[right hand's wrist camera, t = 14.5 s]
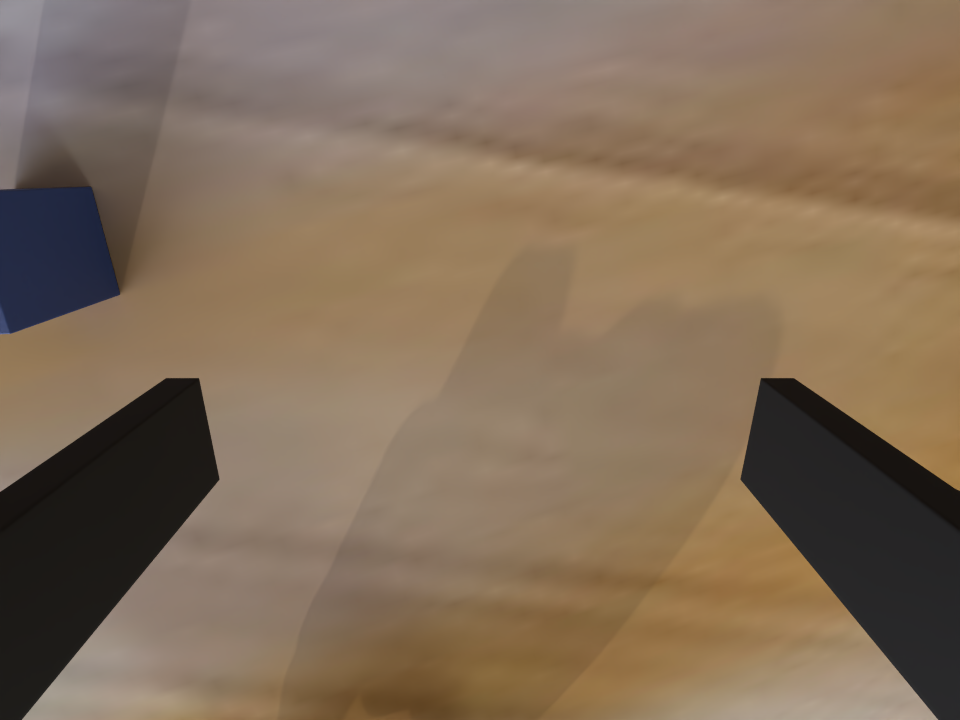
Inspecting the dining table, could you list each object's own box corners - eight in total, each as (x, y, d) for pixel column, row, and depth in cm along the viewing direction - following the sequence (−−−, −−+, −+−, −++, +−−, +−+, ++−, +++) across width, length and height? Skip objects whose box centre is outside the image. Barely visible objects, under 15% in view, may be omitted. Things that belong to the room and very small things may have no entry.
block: (12, 188, 31) (-146, 195, 23) (91, 186, 31) (-39, 192, 23) (46, 297, 33) (-87, 337, 25) (120, 294, 33) (10, 334, 25)
